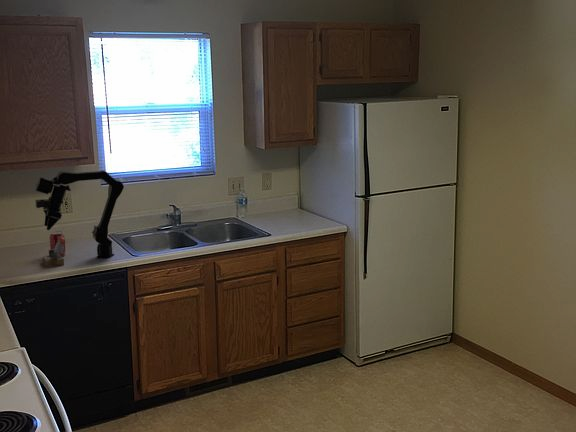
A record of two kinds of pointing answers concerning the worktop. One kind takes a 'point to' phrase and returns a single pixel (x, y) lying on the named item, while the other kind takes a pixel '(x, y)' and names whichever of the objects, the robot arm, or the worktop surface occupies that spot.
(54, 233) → the soda can
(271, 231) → the worktop surface
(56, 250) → the copper roller
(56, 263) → the switch block
